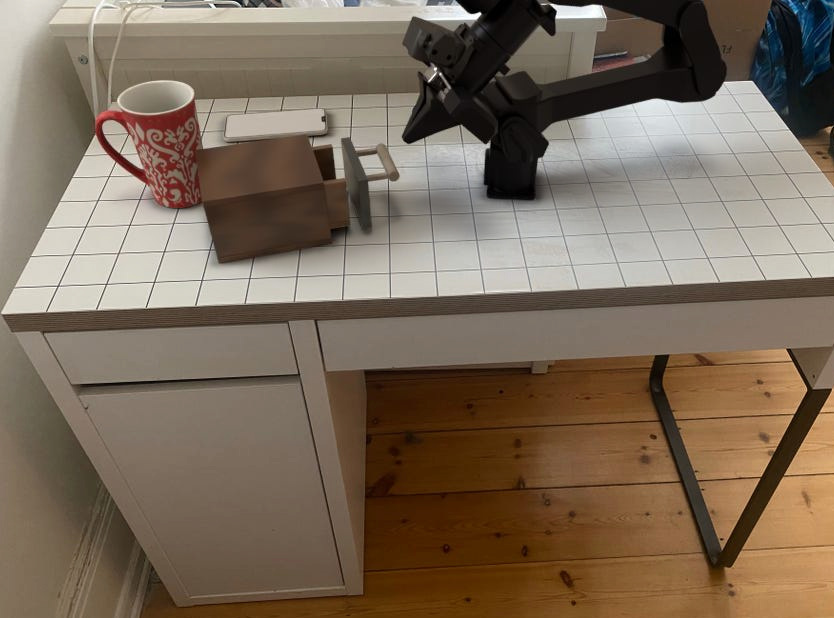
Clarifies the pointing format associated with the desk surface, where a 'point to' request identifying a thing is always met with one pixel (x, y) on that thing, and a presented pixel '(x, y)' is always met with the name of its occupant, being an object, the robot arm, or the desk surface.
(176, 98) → the mug
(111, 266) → the desk surface
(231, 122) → the smartphone
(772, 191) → the desk surface
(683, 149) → the desk surface
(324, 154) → the drawer
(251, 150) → the cabinet
